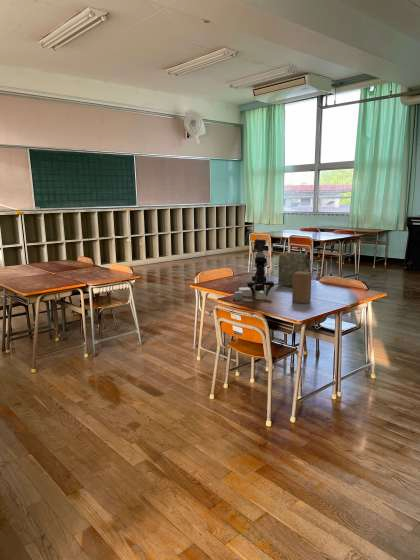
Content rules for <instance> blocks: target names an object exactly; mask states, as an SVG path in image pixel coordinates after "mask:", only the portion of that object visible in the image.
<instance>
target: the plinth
mask: <svg viewBox="0 0 420 560" xmlns="http://www.w3.org/2000/svg"><path fill="white" fill-rule="evenodd" d="M238 291H242V293H243V296H244V297H252V291H251V289H250V288H249V287H247V286H246V287H238Z"/></svg>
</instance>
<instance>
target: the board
mask: <svg viewBox="0 0 420 560" xmlns="http://www.w3.org/2000/svg"><path fill="white" fill-rule="evenodd" d="M242 301H243V303H256V302H257V301H256V300H255V298H252V299H251V298H250V299H243V300H242Z"/></svg>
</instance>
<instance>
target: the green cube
mask: <svg viewBox="0 0 420 560" xmlns="http://www.w3.org/2000/svg"><path fill="white" fill-rule="evenodd" d="M255 299H256V300H257V299H259V300H265V292H263V291H256V292H255Z"/></svg>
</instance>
